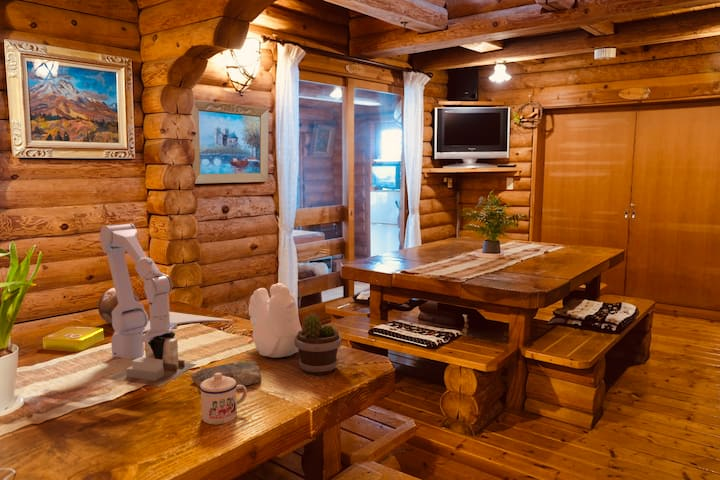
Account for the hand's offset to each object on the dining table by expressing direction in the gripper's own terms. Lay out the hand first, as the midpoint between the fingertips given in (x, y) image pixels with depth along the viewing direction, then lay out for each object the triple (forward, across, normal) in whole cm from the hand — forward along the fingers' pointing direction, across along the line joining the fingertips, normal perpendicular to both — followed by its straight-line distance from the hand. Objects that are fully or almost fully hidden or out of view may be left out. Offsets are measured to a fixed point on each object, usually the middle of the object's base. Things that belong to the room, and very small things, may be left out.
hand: (161, 357), depth 176 cm
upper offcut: (0, -8, -1) cm, 8 cm away
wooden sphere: (+4, +36, +46) cm, 59 cm away
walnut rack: (+4, -4, 0) cm, 6 cm away
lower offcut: (+3, -8, 0) cm, 9 cm away
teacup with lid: (+4, -22, -35) cm, 42 cm away
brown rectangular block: (+3, 0, 0) cm, 3 cm away
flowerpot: (+4, +15, -46) cm, 49 cm away
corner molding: (+5, +37, +19) cm, 42 cm away
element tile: (+5, +12, +45) cm, 47 cm away
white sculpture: (+4, +26, -26) cm, 37 cm away
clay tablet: (+4, -2, -24) cm, 24 cm away
